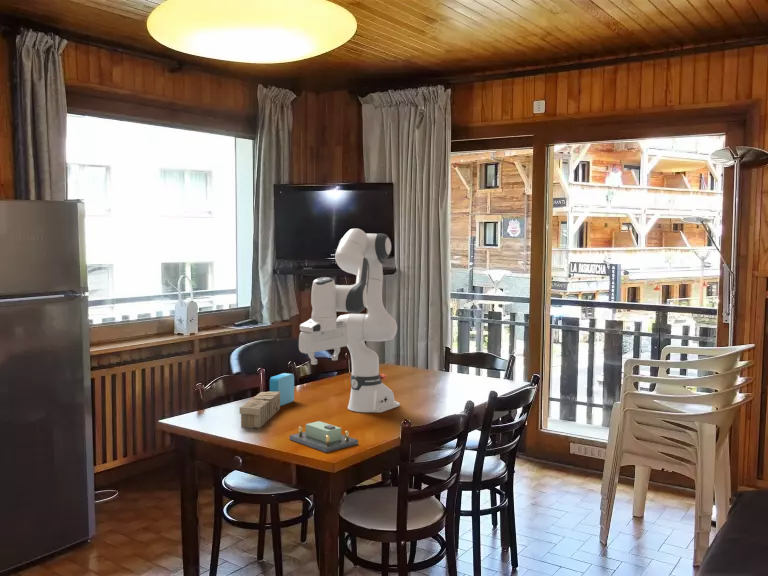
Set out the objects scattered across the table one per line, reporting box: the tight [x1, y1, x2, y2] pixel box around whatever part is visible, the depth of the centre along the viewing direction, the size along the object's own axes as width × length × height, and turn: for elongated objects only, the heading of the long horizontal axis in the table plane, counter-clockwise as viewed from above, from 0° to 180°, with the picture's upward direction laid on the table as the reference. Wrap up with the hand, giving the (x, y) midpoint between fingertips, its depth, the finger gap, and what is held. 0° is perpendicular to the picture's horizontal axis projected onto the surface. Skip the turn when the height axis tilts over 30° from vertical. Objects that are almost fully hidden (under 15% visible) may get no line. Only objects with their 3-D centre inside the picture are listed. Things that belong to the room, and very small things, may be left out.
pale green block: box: [305, 420, 342, 442], centre depth 245 cm, size 6×12×5 cm, turn 44°
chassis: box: [289, 425, 359, 453], centre depth 245 cm, size 14×20×4 cm
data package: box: [269, 372, 295, 407], centre depth 300 cm, size 12×4×12 cm, turn 155°
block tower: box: [239, 390, 281, 428], centre depth 276 cm, size 8×8×29 cm
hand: (324, 362), depth 253 cm, fingers open, 8 cm apart
